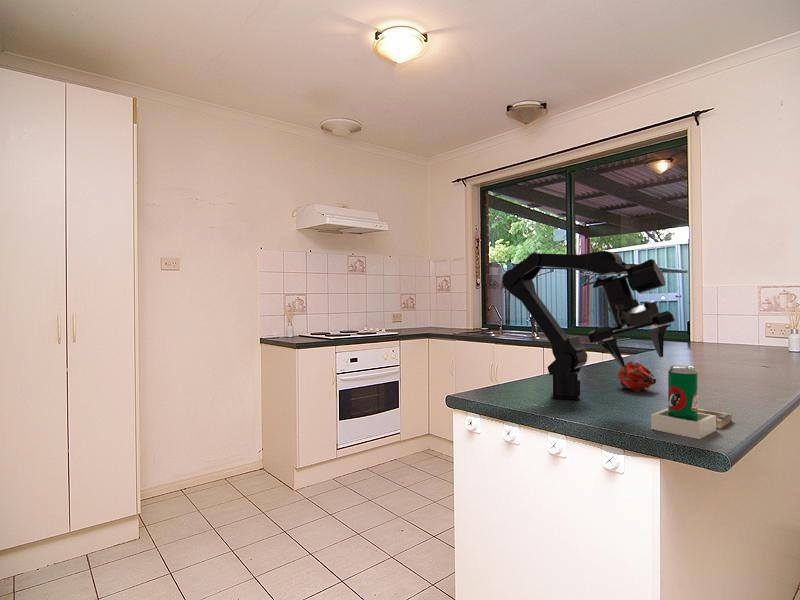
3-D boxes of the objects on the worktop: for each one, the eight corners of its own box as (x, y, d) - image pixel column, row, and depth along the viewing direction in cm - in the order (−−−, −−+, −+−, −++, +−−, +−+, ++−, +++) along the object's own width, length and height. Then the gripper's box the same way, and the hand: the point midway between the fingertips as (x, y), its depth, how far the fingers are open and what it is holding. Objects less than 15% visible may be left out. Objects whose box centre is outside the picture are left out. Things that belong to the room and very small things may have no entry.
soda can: (699, 431, 89) (699, 369, 89) (668, 428, 91) (668, 367, 91) (696, 425, 93) (696, 365, 93) (667, 422, 96) (667, 364, 96)
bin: (651, 429, 93) (651, 414, 93) (669, 421, 98) (669, 407, 98) (699, 439, 86) (699, 423, 86) (716, 430, 92) (716, 415, 92)
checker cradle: (675, 420, 99) (675, 412, 99) (688, 413, 104) (688, 405, 104) (720, 428, 93) (720, 419, 93) (731, 421, 98) (731, 412, 98)
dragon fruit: (624, 390, 138) (650, 405, 127) (603, 374, 137) (628, 388, 125) (641, 367, 138) (669, 380, 126) (621, 351, 136) (647, 363, 124)
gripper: (593, 303, 105) (616, 370, 102) (674, 282, 105) (700, 349, 102) (579, 311, 116) (599, 372, 113) (652, 292, 116) (674, 353, 113)
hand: (642, 362), depth 110 cm, fingers open, 9 cm apart
